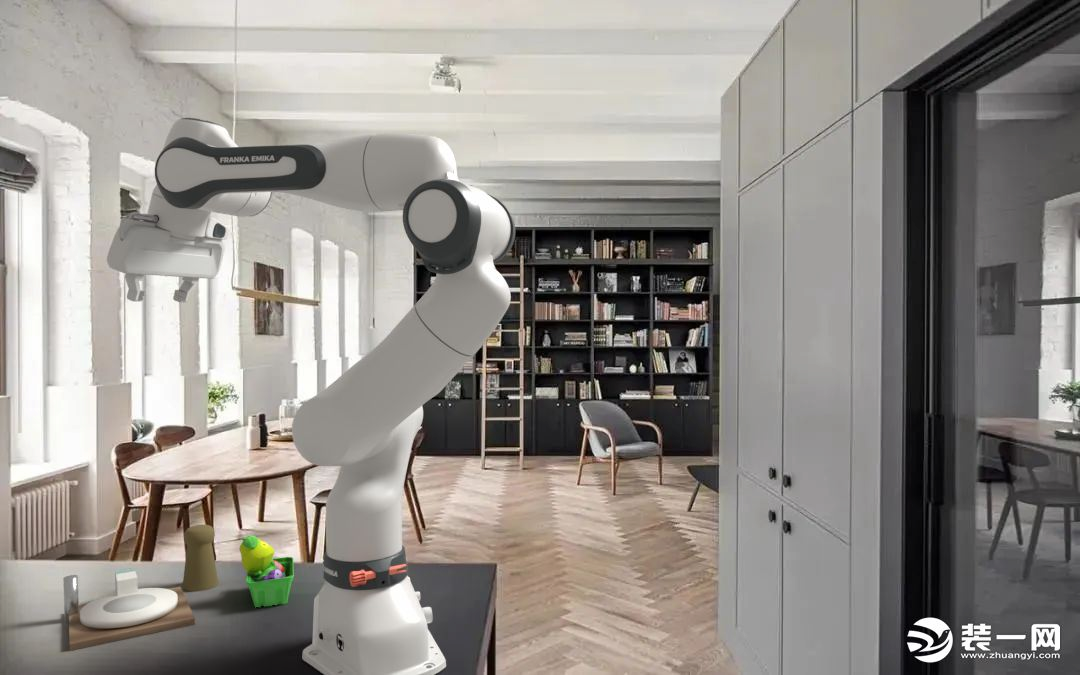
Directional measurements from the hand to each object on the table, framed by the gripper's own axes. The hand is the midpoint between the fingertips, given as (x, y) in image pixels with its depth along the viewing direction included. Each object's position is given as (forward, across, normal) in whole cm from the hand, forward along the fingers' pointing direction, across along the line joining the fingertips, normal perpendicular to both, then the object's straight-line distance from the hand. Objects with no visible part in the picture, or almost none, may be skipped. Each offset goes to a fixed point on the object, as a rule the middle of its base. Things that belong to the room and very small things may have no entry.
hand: (157, 301), depth 122 cm
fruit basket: (+46, +12, -27) cm, 55 cm away
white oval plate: (+50, -1, -10) cm, 51 cm away
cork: (+51, +13, -12) cm, 54 cm away
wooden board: (+51, -2, -12) cm, 52 cm away
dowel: (+54, -5, -4) cm, 54 cm away
